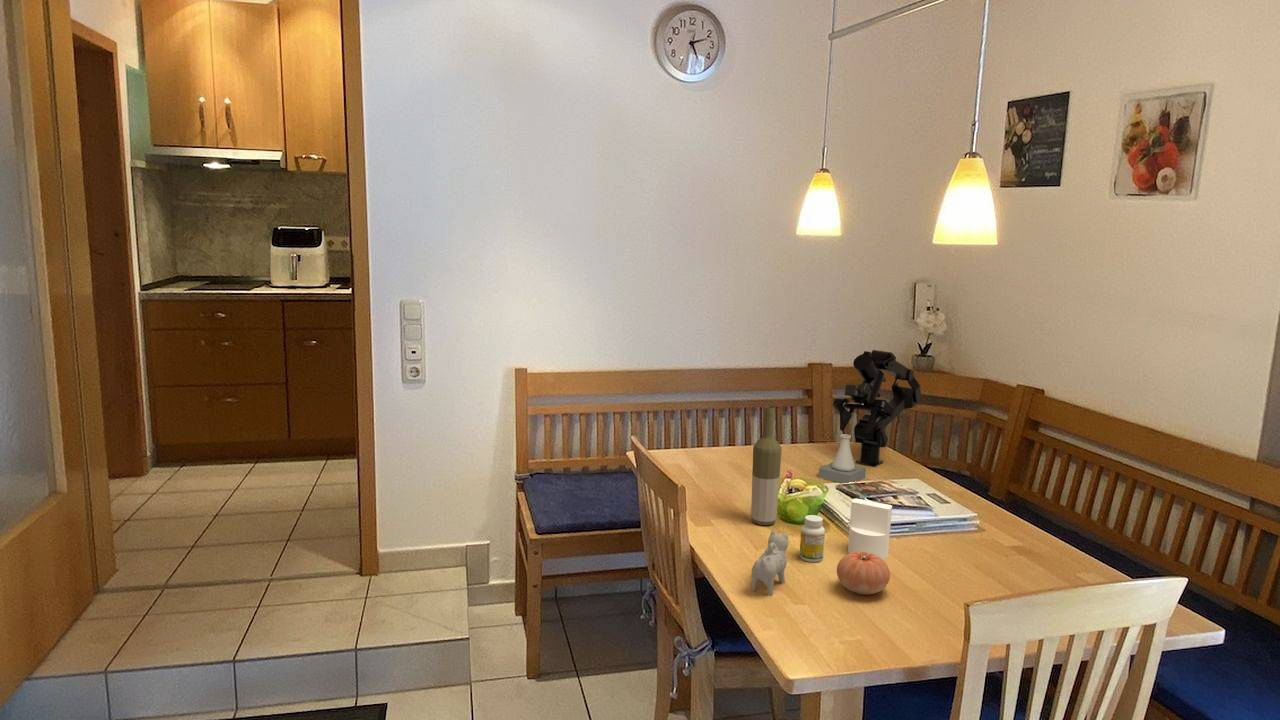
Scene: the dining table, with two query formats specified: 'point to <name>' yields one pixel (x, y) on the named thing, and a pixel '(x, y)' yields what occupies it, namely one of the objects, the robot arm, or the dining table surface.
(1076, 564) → the dining table surface
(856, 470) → the dock
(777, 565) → the dog figurine
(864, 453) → the robot arm
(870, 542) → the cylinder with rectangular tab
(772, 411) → the bottle
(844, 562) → the pumpkin
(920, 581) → the dining table surface
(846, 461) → the flask
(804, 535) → the supplement bottle
